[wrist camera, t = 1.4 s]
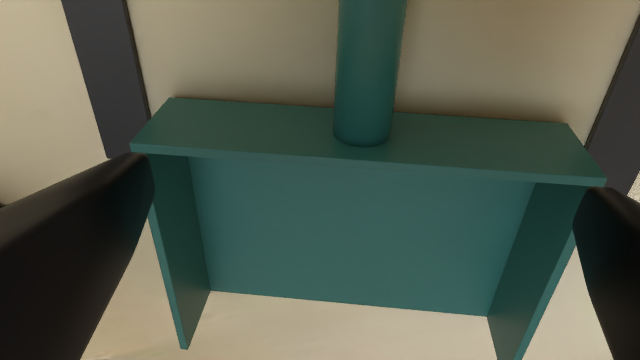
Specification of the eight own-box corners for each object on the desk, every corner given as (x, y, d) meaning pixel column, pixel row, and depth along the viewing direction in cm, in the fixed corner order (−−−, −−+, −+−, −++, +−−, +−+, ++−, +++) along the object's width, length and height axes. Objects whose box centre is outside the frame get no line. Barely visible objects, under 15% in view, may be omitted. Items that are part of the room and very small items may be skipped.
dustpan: (492, 313, 26) (510, 383, 23) (205, 286, 27) (180, 349, 24) (700, -241, 13) (826, -281, 9) (111, -250, 14) (20, -288, 10)
